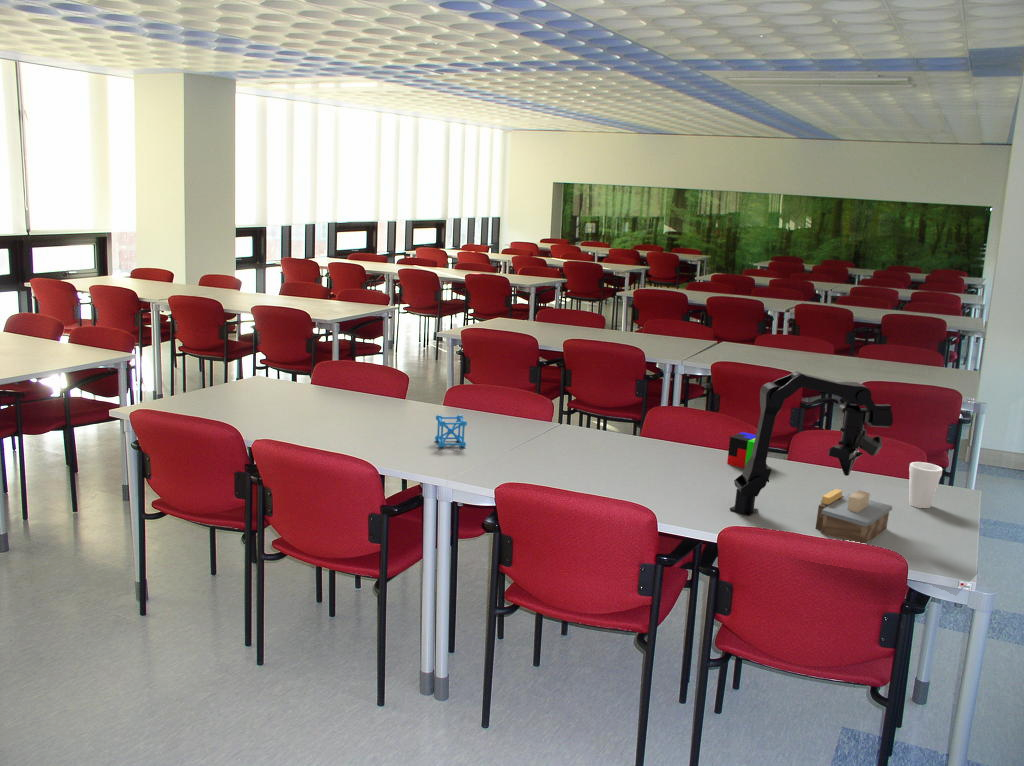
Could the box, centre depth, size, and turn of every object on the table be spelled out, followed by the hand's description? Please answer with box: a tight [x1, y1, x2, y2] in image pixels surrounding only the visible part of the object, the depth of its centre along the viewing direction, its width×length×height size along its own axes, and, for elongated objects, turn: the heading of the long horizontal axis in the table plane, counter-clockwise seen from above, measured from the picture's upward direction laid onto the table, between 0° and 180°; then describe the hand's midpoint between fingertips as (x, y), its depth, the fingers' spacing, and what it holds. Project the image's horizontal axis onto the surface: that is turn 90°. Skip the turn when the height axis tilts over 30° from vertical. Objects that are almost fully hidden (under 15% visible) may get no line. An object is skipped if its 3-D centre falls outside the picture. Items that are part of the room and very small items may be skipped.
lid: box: [820, 490, 893, 527], centre depth 262 cm, size 20×16×5 cm
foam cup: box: [908, 461, 943, 509], centre depth 287 cm, size 10×9×13 cm
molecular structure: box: [434, 414, 468, 449], centre depth 324 cm, size 10×10×10 cm
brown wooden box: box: [815, 495, 890, 544], centre depth 263 cm, size 19×15×7 cm
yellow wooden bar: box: [821, 488, 843, 504], centre depth 266 cm, size 10×2×2 cm, turn 139°
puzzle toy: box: [726, 431, 756, 469], centre depth 320 cm, size 10×10×10 cm
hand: (846, 475), depth 272 cm, fingers closed
